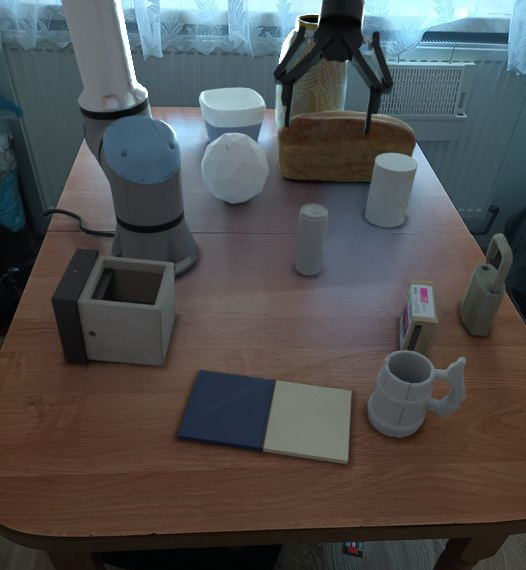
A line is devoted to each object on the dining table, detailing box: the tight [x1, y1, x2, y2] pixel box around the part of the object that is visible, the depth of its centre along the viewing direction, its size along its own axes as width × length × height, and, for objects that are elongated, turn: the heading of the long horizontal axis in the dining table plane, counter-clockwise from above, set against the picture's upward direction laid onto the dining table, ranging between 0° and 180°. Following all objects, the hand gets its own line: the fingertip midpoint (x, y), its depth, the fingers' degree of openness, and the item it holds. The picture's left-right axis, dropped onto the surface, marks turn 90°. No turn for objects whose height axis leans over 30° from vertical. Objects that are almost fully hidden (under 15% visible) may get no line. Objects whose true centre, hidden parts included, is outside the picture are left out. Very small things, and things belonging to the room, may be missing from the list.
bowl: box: [198, 87, 267, 144], centre depth 132 cm, size 15×15×11 cm
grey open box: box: [50, 247, 176, 367], centre depth 79 cm, size 12×14×12 cm
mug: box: [366, 350, 467, 439], centre depth 70 cm, size 8×12×12 cm, turn 85°
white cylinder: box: [364, 153, 419, 228], centre depth 109 cm, size 8×8×12 cm
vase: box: [274, 13, 349, 130], centre depth 132 cm, size 17×17×27 cm
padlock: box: [459, 233, 514, 337], centre depth 84 cm, size 4×8×15 cm, turn 176°
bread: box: [277, 109, 417, 183], centre depth 122 cm, size 12×31×14 cm, turn 91°
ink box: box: [399, 279, 440, 358], centre depth 82 cm, size 10×4×8 cm, turn 170°
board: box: [177, 369, 353, 465], centre depth 73 cm, size 22×12×1 cm, turn 81°
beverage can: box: [294, 203, 329, 277], centre depth 94 cm, size 5×5×12 cm
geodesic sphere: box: [200, 132, 270, 205], centre depth 111 cm, size 15×14×14 cm
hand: (326, 127), depth 92 cm, fingers open, 13 cm apart
